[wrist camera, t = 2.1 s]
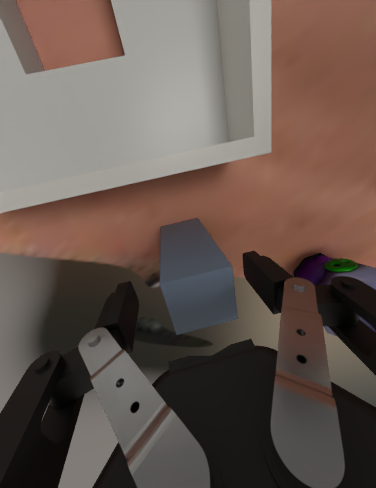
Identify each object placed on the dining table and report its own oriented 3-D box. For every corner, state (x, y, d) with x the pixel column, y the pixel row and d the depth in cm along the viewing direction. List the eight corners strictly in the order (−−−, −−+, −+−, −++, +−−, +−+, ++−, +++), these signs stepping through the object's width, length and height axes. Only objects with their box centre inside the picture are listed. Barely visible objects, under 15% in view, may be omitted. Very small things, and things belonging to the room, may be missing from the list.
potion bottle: (330, 228, 21) (505, 292, 10) (350, 271, 25) (500, 354, 14) (271, 271, 23) (370, 367, 12) (297, 306, 26) (395, 407, 15)
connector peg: (197, 218, 19) (232, 266, 9) (203, 250, 20) (237, 318, 11) (160, 226, 18) (159, 284, 9) (169, 259, 20) (176, 334, 11)
